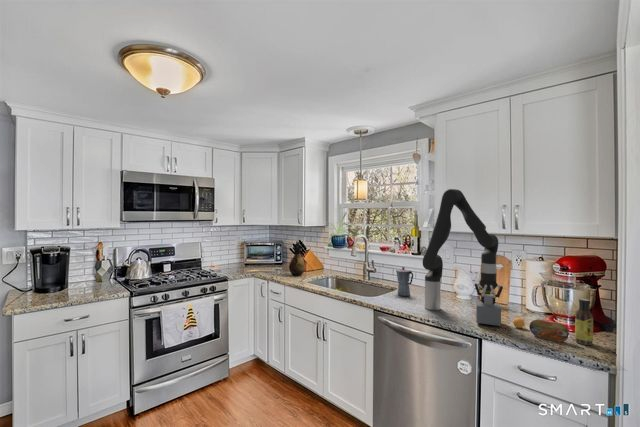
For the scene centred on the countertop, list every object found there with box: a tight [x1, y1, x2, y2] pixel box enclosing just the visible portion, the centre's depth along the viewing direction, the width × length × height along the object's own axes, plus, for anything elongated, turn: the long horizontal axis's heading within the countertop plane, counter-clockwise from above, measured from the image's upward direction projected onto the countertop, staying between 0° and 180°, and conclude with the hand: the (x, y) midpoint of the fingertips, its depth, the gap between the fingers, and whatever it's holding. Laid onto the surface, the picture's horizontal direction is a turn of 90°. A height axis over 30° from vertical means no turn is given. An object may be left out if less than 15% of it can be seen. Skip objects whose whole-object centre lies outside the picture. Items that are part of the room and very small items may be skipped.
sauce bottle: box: [574, 298, 594, 346], centre depth 144 cm, size 6×6×20 cm
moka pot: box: [395, 266, 414, 297], centre depth 228 cm, size 10×15×20 cm, turn 40°
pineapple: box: [288, 243, 306, 277], centre depth 298 cm, size 17×15×30 cm
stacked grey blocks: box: [475, 294, 502, 327], centre depth 169 cm, size 11×11×14 cm
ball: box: [512, 317, 525, 329], centre depth 163 cm, size 5×5×5 cm
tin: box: [528, 318, 570, 343], centre depth 149 cm, size 15×3×8 cm, turn 45°
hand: (488, 303), depth 169 cm, fingers closed on stacked grey blocks, 4 cm apart
